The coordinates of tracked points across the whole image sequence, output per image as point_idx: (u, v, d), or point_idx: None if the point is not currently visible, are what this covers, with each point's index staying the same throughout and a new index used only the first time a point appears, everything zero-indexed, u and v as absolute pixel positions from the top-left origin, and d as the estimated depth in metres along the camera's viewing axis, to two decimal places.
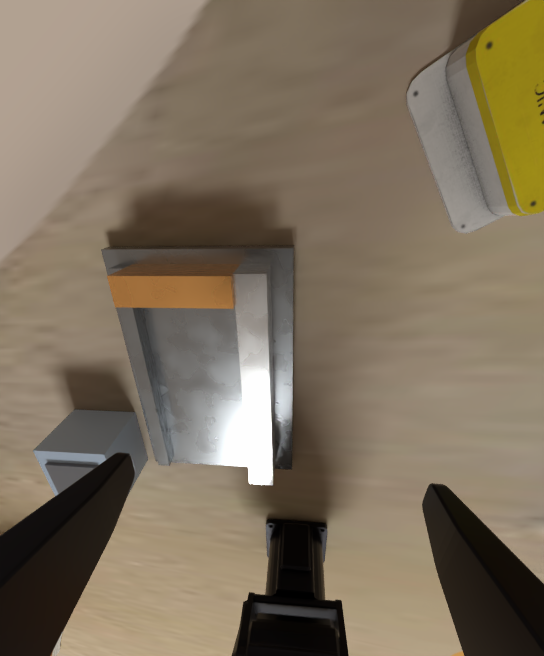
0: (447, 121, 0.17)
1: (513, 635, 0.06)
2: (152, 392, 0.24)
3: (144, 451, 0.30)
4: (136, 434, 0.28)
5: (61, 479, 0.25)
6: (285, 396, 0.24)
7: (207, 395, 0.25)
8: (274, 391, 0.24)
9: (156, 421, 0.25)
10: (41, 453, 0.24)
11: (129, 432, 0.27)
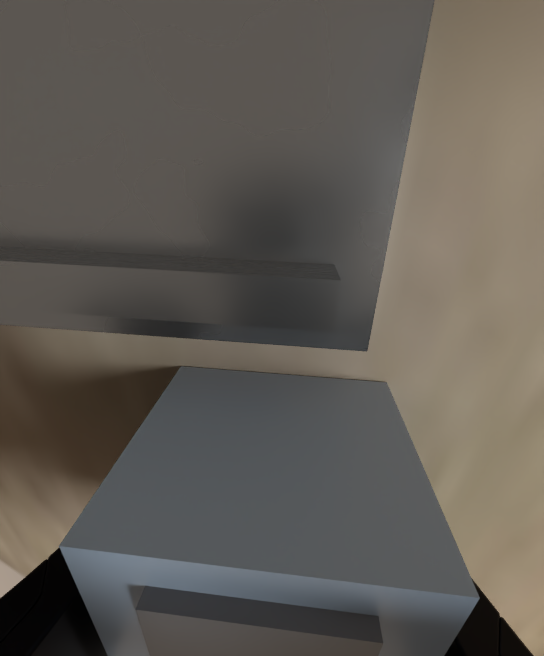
0: None
1: None
2: None
3: (341, 385, 0.08)
4: (245, 387, 0.08)
5: None
6: None
7: None
8: None
9: (66, 279, 0.06)
10: None
11: (194, 405, 0.07)
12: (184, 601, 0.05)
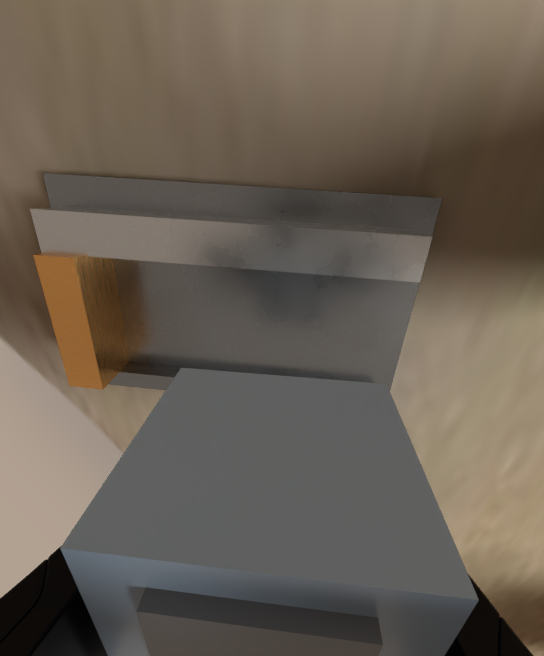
0: None
1: None
2: None
3: (341, 387, 0.08)
4: (245, 389, 0.08)
5: None
6: (268, 199, 0.15)
7: (267, 318, 0.18)
8: (258, 217, 0.15)
9: None
10: None
11: (194, 407, 0.07)
12: (184, 603, 0.05)
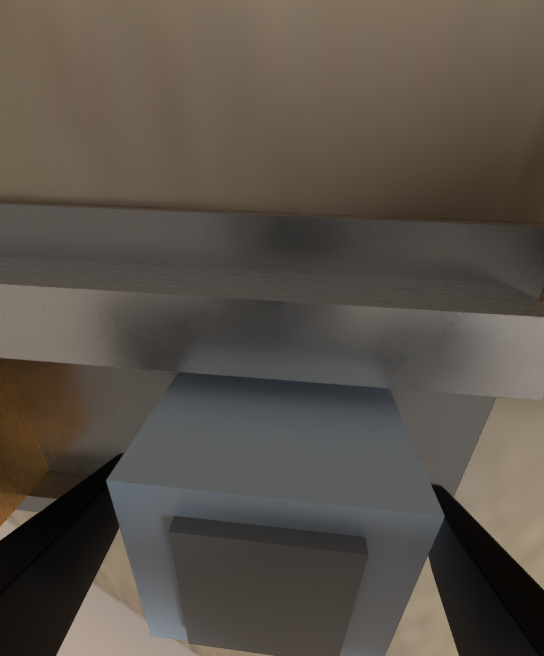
0: None
1: (506, 634, 0.06)
2: None
3: None
4: None
5: (253, 634, 0.07)
6: (242, 235, 0.08)
7: None
8: (226, 266, 0.09)
9: None
10: (157, 626, 0.08)
11: (207, 380, 0.08)
12: (207, 526, 0.06)
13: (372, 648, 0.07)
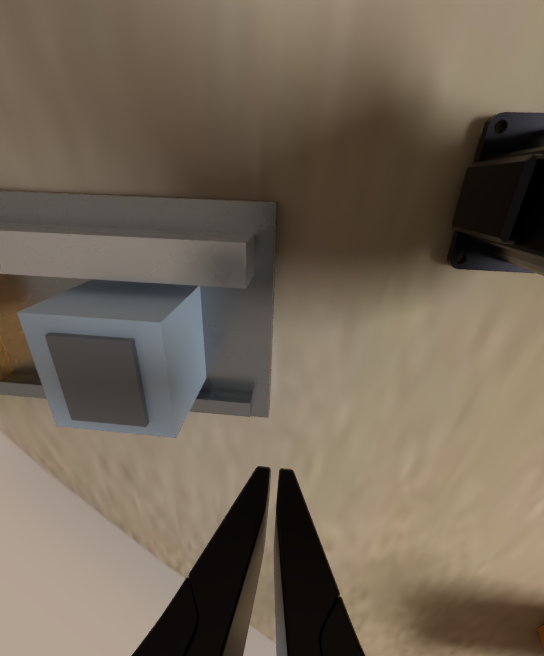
0: None
1: (281, 605, 0.06)
2: None
3: (173, 285, 0.16)
4: (122, 285, 0.16)
5: (100, 407, 0.14)
6: (109, 207, 0.15)
7: None
8: (103, 225, 0.15)
9: None
10: (58, 416, 0.14)
11: (91, 288, 0.15)
12: (63, 334, 0.12)
13: (166, 421, 0.14)
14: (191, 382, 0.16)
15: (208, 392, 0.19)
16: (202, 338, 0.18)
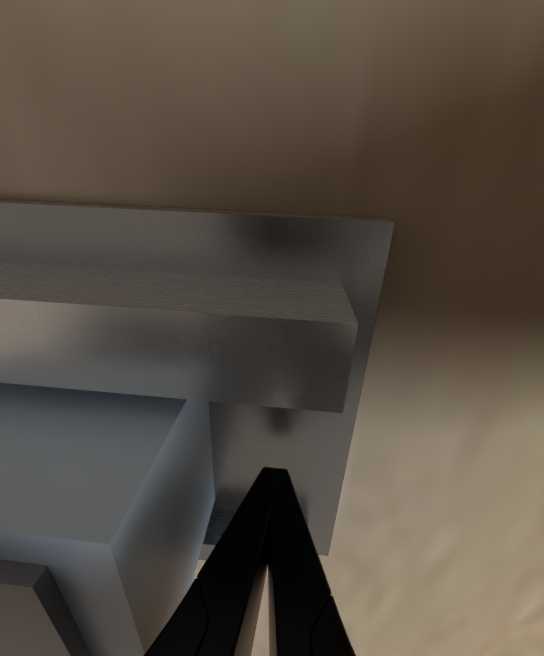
0: None
1: (273, 604, 0.06)
2: None
3: None
4: None
5: None
6: (55, 228, 0.08)
7: None
8: (46, 262, 0.08)
9: None
10: None
11: None
12: None
13: None
14: (191, 545, 0.09)
15: None
16: (210, 446, 0.10)
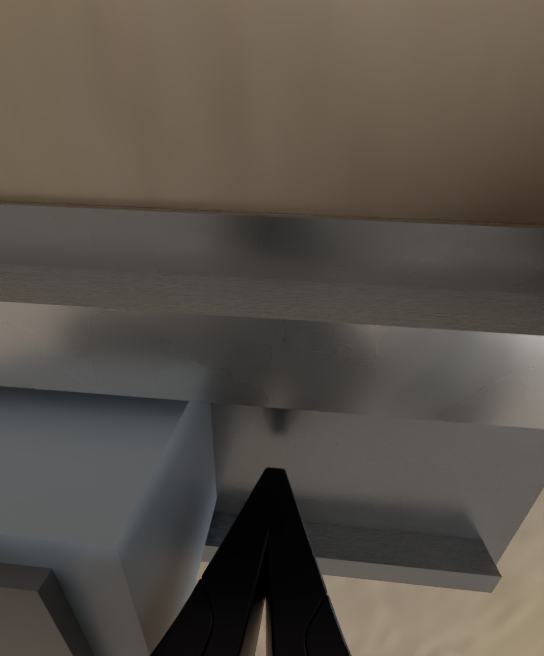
0: None
1: (269, 603, 0.06)
2: None
3: None
4: None
5: None
6: (311, 242, 0.07)
7: (300, 444, 0.10)
8: (289, 277, 0.08)
9: (348, 565, 0.11)
10: None
11: None
12: None
13: None
14: (194, 546, 0.09)
15: (412, 546, 0.11)
16: (212, 446, 0.10)
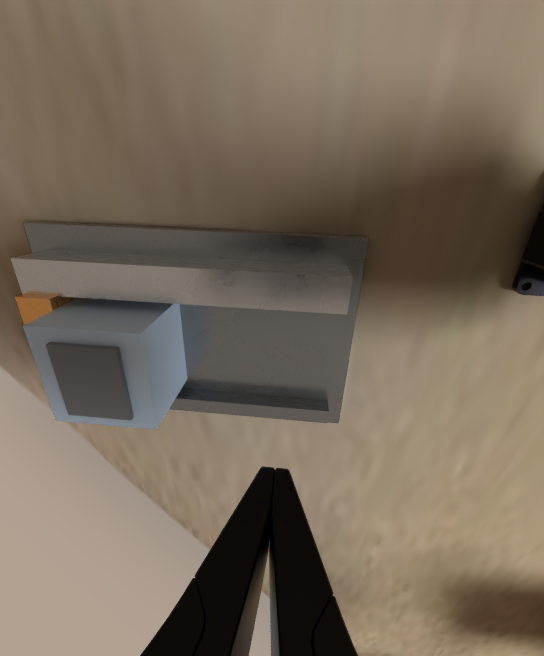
0: None
1: (275, 604, 0.06)
2: (210, 400, 0.21)
3: None
4: None
5: (92, 404, 0.16)
6: (219, 241, 0.17)
7: (226, 342, 0.20)
8: (211, 257, 0.18)
9: (253, 408, 0.21)
10: (57, 412, 0.17)
11: (84, 303, 0.18)
12: (61, 343, 0.15)
13: (148, 415, 0.17)
14: (171, 382, 0.19)
15: (288, 401, 0.21)
16: (182, 344, 0.20)
